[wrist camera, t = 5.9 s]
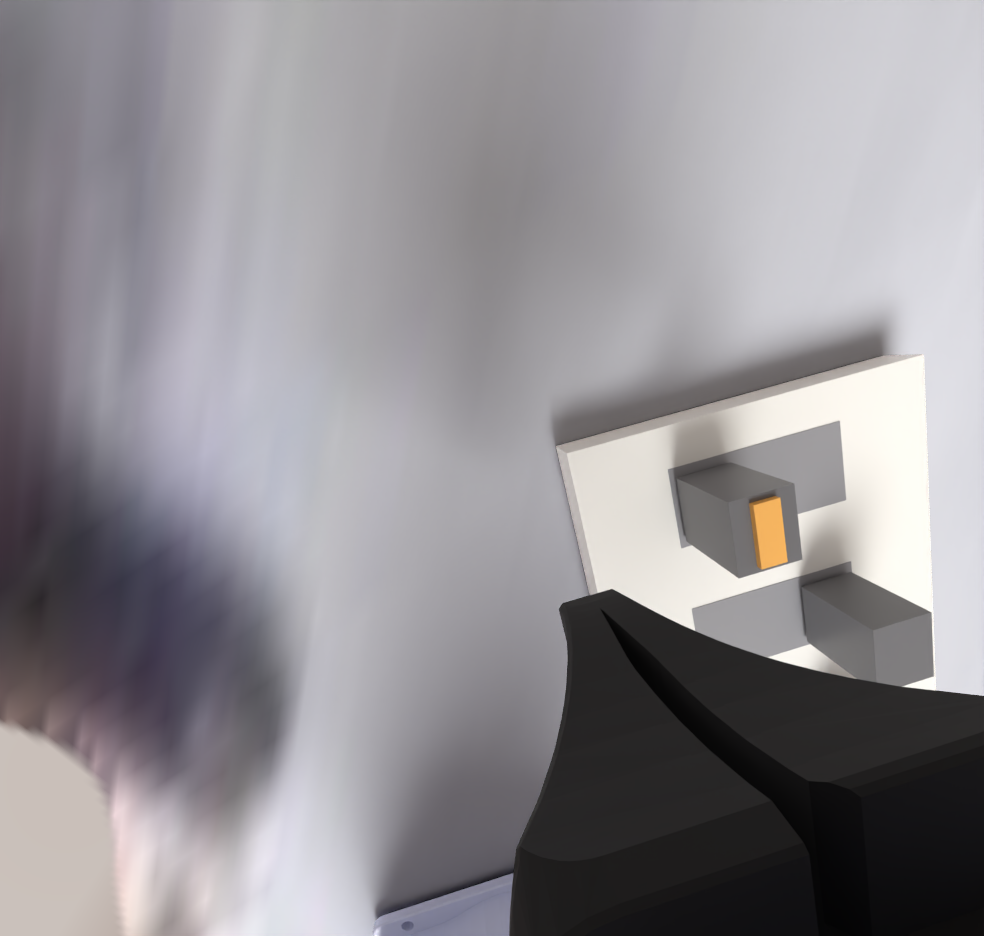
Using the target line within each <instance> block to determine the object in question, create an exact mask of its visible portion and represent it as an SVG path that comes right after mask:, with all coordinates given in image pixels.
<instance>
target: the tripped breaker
mask: <svg viewBox="0 0 984 936" xmlns="http://www.w3.org/2000/svg"><path fill="white" fill-rule="evenodd" d="M676 482H677V488H678V494H679V500H680V506H681V511H682V517H683V523H684V529H685V535H686V541H687V542H688V543H689V544H691V545H692V546H694V547H695V548H696V549H698V550H699V551H701V552H702V553H704V554H705V555H706V556H708V557H709V558H711V559H712V560H713V561H715V562H716V563H718V564H719V565H720V566H722V567H723V568H725V569H726V570H728V571H729V572H730V573H732V574H733V575H735V576H736V577H737V578H743V577H746V576H749V575H753V574H756V573H759V572H763V571H766V570H769V569H773V568H776V567H779V566H783V565H786V564H789V563H793V562H796V561H800V560H802V550H801V541H800V532H799V522H798V513H797V503H796V494H795V485H794V483H791V482H788V481H785V480H782V479H779V478H776V477H773V476H770V475H767V474H764V473H761V472H758V471H755V470H752V469H749V468H746V467H743V466H740V465H737V464H734V463H731V462H730V463H726V464H723V465H719V466H716V467H712V468H709V469H705V470H702V471H698V472H695V473H691V474H688V475H684V476H681V477H677V478H676Z"/></svg>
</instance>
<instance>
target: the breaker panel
mask: <svg viewBox="0 0 984 936" xmlns="http://www.w3.org/2000/svg"><path fill="white" fill-rule="evenodd" d="M556 449H557V453H558V458H559V462H560V467H561V471H562V475H563V480H564V484H565V489H566V493H567V497H568V502H569V506H570V511H571V515H572V519H573V524H574V528H575V533H576V537H577V541H578V546H579V550H580V555H581V559H582V563H583V568H584V572H585V577H586V581H587V585H588V590H589V594H590V595H593V594H596V593H600V592H603V591H606V590H610V589H613V590H615V591H617V592H619V593H621V594H623V595H625V596H627V597H628V598H630V599H632V600H634V601H636V602H638V603H639V604H641V605H643V606H645V607H647V608H649V609H651V610H653V611H655V612H656V613H658V614H660V615H662V616H664V617H666V618H668V619H670V620H672V621H675V622H677V623H679V624H681V625H683V626H685V627H687V628H690V629H692V630H694V631H697V632H699V633H701V634H704V635H706V636H708V637H711V638H713V639H716V640H718V641H721V642H723V643H726V644H729V645H731V646H734V647H737V648H740V649H743V650H746V651H749V652H752V653H755V654H758V655H761V656H764V657H767V658H771V659H774V660H778V661H781V662H785V663H789V664H793V665H797V666H801V667H805V668H809V669H813V670H817V671H821V672H825V673H830V674H835V675H839V676H844V677H849V678H854V679H860V680H866V681H871V682H877V683H883V684H889V685H895V686H901V687H909V688H918V689H927V690H935V691H936V679H935V652H934V624H933V596H932V568H931V540H930V512H929V484H928V456H927V429H926V401H925V373H924V354H920V355H883V356H880V357H876V358H873V359H869V360H865V361H862V362H858V363H855V364H851V365H847V366H844V367H840V368H836V369H833V370H829V371H826V372H822V373H818V374H815V375H811V376H808V377H804V378H800V379H797V380H793V381H789V382H786V383H782V384H779V385H775V386H771V387H768V388H764V389H761V390H757V391H753V392H750V393H746V394H742V395H739V396H735V397H732V398H728V399H724V400H721V401H717V402H713V403H710V404H706V405H703V406H699V407H695V408H692V409H688V410H685V411H681V412H677V413H674V414H670V415H666V416H663V417H659V418H656V419H652V420H648V421H645V422H641V423H638V424H634V425H630V426H627V427H623V428H619V429H616V430H612V431H609V432H605V433H601V434H598V435H594V436H591V437H587V438H583V439H580V440H576V441H572V442H569V443H565V444H562V445H558V446H556ZM730 462H731V463H734V464H737V465H740V466H743V467H746V468H749V469H752V470H755V471H758V472H761V473H764V474H767V475H770V476H773V477H776V478H779V479H782V480H785V481H788V482H791V483H794V485H795V494H796V503H797V513H798V522H799V532H800V541H801V550H802V560H800V561H796V562H793V563H789V564H786V565H783V566H779V567H776V568H773V569H769V570H766V571H763V572H759V573H756V574H753V575H749V576H746V577H743V578H737V577H736V576H735V575H733V574H732V573H730V572H729V571H728V570H726V569H725V568H723V567H722V566H720V565H719V564H718V563H716V562H715V561H713V560H712V559H711V558H709V557H708V556H706V555H705V554H704V553H702V552H701V551H699V550H698V549H696V548H695V547H694V546H692V545H691V544H689V543H688V542H687V541H686V535H685V529H684V523H683V517H682V511H681V506H680V500H679V494H678V488H677V482H676V478H677V477H681V476H684V475H688V474H691V473H695V472H698V471H702V470H705V469H709V468H712V467H716V466H719V465H723V464H726V463H730Z"/></svg>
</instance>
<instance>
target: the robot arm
mask: <svg viewBox="0 0 984 936" xmlns="http://www.w3.org/2000/svg"><path fill="white" fill-rule="evenodd" d="M559 611H560V615H561V620H562V624H563V628H564V632H565V636H566V640H567V650H568V666H567V684H566V694H565V701H564V708H563V714H562V720H561V724H560V729H559V733H558V738H557V742H556V746H555V750H554V754H553V757H552V761H551V763H550V766H549V769H548V772H547V775H546V778H545V781H544V784H543V787H542V790H541V793H540V796H539V798H538V801H537V804H536V806H535V808H534V811H533V813H532V815H531V817H530V820H529V822H528V824H527V826H526V828H525V831H524V833H523V835H522V837H521V840H520V842H519V844H518V846H517V849H516V856H515V864H514V873H511V874H508V875H505V876H502V877H499V878H496V879H493V880H490V881H487V882H484V883H481V884H478V885H475V886H472V887H468V888H465V889H462V890H459V891H456V892H453V893H450V894H447V895H444V896H441V897H438V898H435V899H432V900H428V901H425V902H422V903H419V904H416V905H413V906H410V907H407V908H404V909H401V910H398V911H395V912H392V913H389V914H385V915H383V916H381V917H379V918H378V919H377V920H376V921H375V923H374V930H373V934H374V936H984V696H979V695H970V694H961V693H953V692H944V691H935V690H927V689H918V688H909V687H901V686H895V685H889V684H883V683H877V682H871V681H866V680H860V679H854V678H849V677H844V676H839V675H835V674H830V673H825V672H821V671H817V670H813V669H809V668H805V667H801V666H797V665H793V664H789V663H785V662H781V661H778V660H774V659H771V658H767V657H764V656H761V655H758V654H755V653H752V652H749V651H746V650H743V649H740V648H737V647H734V646H731V645H729V644H726V643H723V642H721V641H718V640H716V639H713V638H711V637H708V636H706V635H704V634H701V633H699V632H697V631H694V630H692V629H690V628H687V627H685V626H683V625H681V624H679V623H677V622H675V621H672V620H670V619H668V618H666V617H664V616H662V615H660V614H658V613H656V612H655V611H653V610H651V609H649V608H647V607H645V606H643V605H641V604H639V603H638V602H636V601H634V600H632V599H630V598H628V597H627V596H625V595H623V594H621V593H619V592H617V591H615V590H613V589H610V590H606V591H603V592H600V593H596V594H593V595H589V596H586V597H583V598H579V599H576V600H572V601H569V602H566V603H563V604H562V605H561V607H560V608H559Z"/></svg>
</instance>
